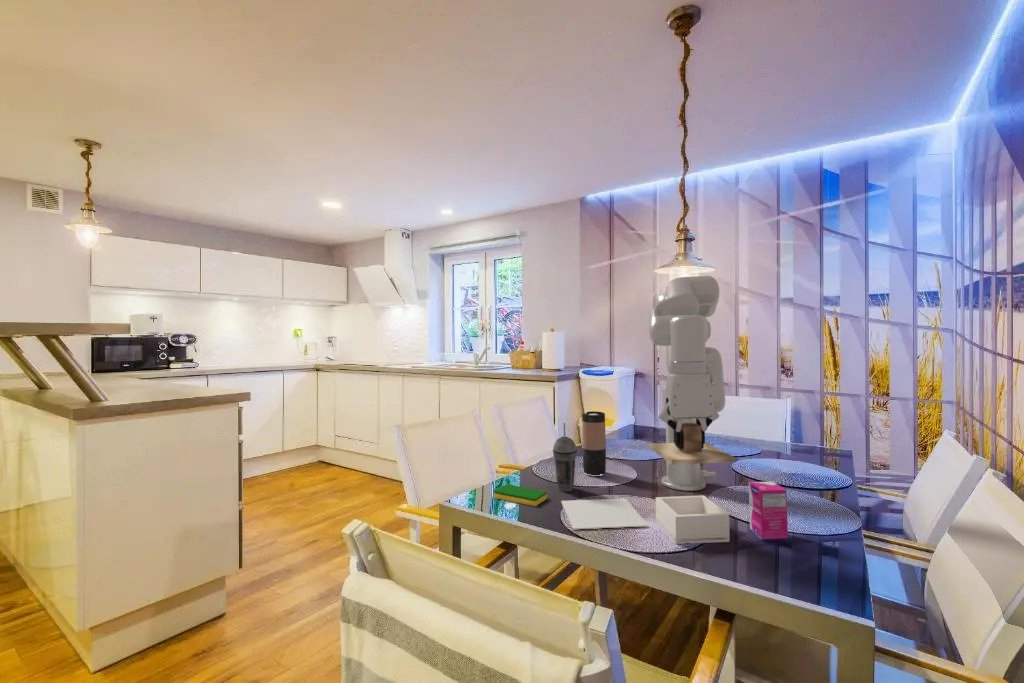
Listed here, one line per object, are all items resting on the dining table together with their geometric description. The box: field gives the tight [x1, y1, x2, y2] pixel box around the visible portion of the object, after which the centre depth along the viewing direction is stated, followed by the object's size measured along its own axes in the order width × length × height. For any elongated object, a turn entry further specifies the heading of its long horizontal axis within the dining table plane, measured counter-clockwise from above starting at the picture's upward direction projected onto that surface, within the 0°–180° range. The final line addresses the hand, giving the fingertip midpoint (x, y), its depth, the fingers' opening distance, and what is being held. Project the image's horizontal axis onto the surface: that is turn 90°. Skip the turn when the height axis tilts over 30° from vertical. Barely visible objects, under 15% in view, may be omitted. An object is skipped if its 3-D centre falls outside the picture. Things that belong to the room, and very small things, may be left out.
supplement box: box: [748, 480, 789, 542], centre depth 102 cm, size 6×6×12 cm
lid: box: [648, 422, 736, 465], centre depth 106 cm, size 14×14×7 cm
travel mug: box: [581, 410, 607, 475], centre depth 151 cm, size 8×8×20 cm
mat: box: [560, 497, 649, 530], centre depth 117 cm, size 18×18×1 cm
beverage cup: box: [552, 422, 578, 492], centre depth 136 cm, size 7×7×20 cm
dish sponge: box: [493, 484, 548, 507], centre depth 130 cm, size 7×14×2 cm, turn 58°
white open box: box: [655, 495, 731, 545], centre depth 106 cm, size 12×12×6 cm
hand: (689, 446), depth 106 cm, fingers closed on lid, 4 cm apart
